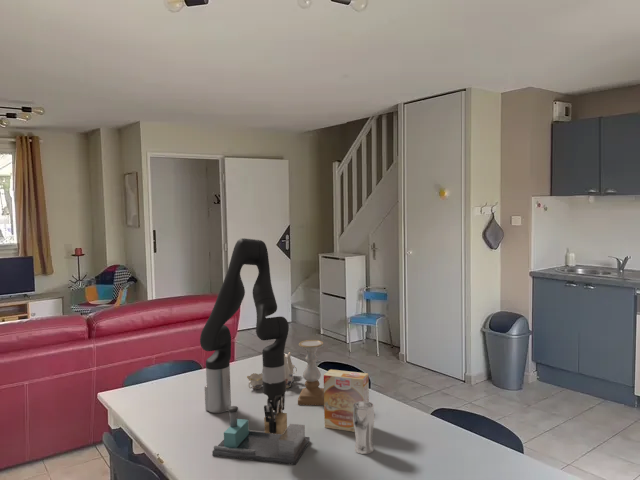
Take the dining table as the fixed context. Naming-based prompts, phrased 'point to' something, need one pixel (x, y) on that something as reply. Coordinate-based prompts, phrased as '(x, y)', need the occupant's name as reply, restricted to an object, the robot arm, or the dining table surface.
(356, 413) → the beer glass
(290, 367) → the chinaware
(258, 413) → the dining table surface
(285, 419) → the block
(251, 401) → the dining table surface
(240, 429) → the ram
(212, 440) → the dining table surface
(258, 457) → the frame
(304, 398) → the candle holder
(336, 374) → the coffeecake box
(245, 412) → the dining table surface
